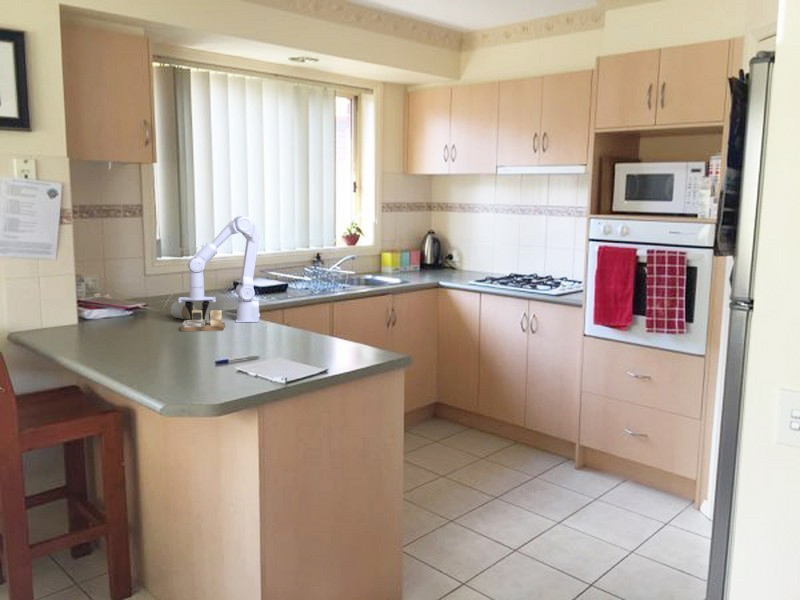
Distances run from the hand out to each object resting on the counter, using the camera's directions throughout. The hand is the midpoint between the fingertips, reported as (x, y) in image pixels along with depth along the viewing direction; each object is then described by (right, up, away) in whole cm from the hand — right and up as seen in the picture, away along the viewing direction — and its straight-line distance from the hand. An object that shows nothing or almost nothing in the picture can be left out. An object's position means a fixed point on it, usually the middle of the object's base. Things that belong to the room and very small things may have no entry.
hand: (197, 319), depth 281 cm
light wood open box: (+5, -3, -9) cm, 11 cm away
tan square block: (0, -1, 0) cm, 1 cm away
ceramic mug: (-8, 0, +11) cm, 14 cm away
